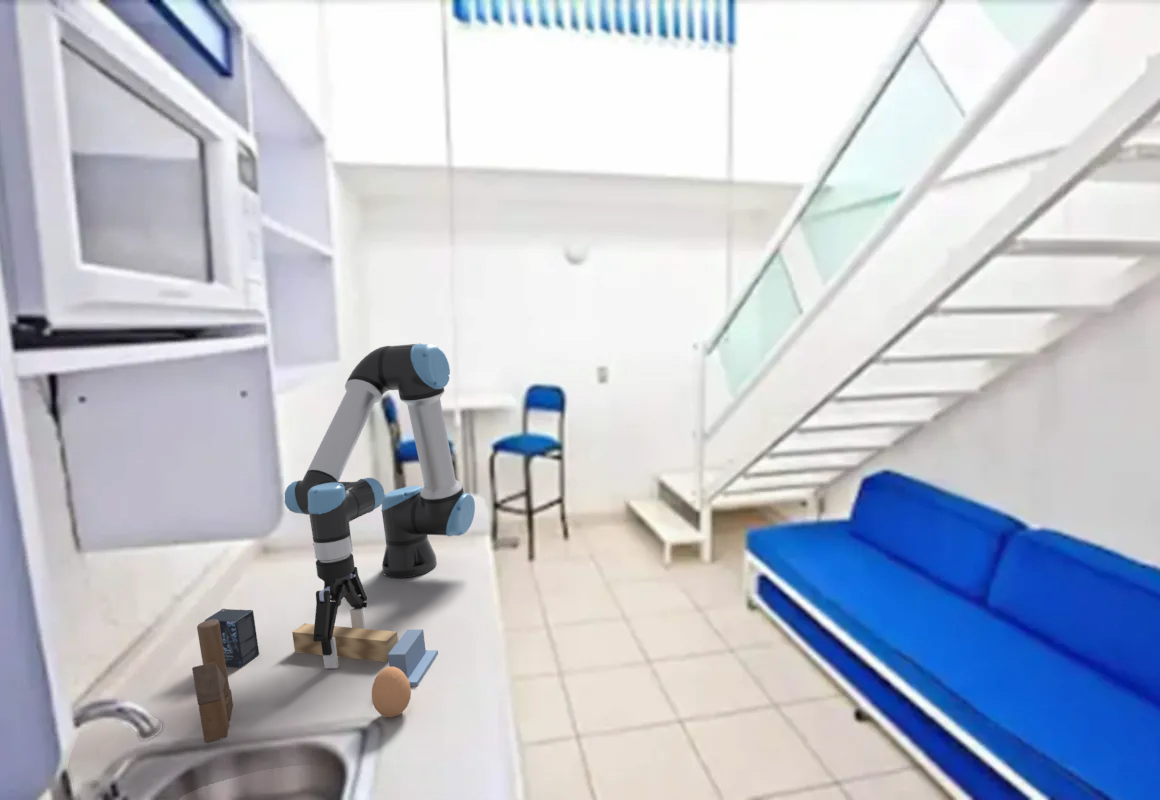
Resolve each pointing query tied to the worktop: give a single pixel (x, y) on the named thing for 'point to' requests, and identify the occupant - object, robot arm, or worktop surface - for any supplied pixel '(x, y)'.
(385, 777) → the worktop surface
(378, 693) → the egg
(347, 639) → the oak bar
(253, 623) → the box
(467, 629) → the worktop surface
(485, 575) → the worktop surface
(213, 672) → the wooden block
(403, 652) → the fulcrum
